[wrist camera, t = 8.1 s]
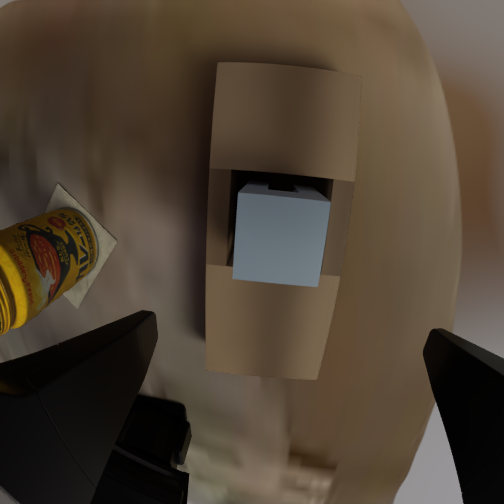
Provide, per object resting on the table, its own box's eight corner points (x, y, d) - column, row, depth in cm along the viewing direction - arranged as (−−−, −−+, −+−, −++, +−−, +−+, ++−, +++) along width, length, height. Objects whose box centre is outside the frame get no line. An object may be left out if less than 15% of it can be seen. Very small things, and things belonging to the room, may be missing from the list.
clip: (245, 240, 20) (232, 278, 14) (250, 180, 19) (238, 192, 13) (304, 246, 20) (317, 287, 14) (312, 186, 19) (330, 202, 12)
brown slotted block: (213, 346, 23) (206, 370, 20) (226, 75, 17) (217, 62, 14) (312, 355, 23) (316, 379, 20) (349, 87, 16) (361, 76, 14)
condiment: (118, 240, 21) (7, 316, 10) (78, 308, 23) (-5, 387, 12) (59, 182, 20) (-61, 216, 8) (28, 255, 22) (-64, 309, 11)
